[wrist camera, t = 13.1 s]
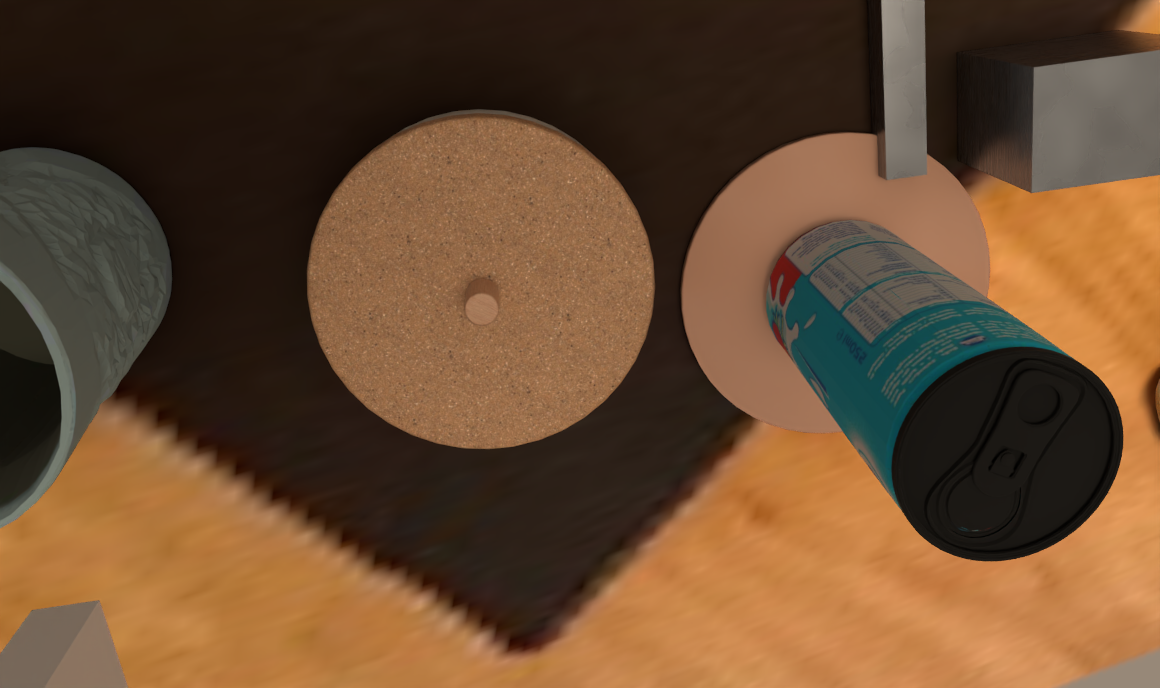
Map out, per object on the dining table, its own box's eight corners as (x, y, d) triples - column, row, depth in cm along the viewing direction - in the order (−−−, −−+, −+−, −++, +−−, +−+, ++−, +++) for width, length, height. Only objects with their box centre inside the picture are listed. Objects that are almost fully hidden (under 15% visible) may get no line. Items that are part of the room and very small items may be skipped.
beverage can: (730, 314, 41) (848, 497, 27) (822, 185, 40) (997, 307, 26) (850, 388, 43) (1021, 598, 29) (943, 266, 41) (1172, 424, 27)
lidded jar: (551, 408, 43) (563, 524, 34) (297, 297, 41) (240, 390, 32) (678, 168, 40) (728, 226, 31) (412, 34, 38) (385, 56, 29)
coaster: (665, 155, 40) (667, 157, 39) (983, 110, 40) (990, 112, 39) (694, 446, 44) (697, 452, 43) (983, 404, 44) (989, 410, 43)
